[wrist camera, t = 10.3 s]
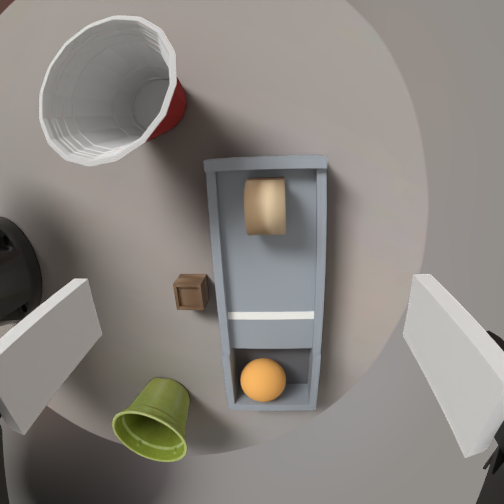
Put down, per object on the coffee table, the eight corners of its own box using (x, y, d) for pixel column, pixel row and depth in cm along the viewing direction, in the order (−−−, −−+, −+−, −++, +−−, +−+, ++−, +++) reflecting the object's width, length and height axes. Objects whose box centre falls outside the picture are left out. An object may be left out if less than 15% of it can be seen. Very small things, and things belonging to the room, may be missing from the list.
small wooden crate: (183, 298, 34) (177, 309, 32) (180, 274, 33) (173, 284, 31) (209, 298, 34) (203, 310, 32) (206, 274, 33) (200, 284, 31)
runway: (232, 387, 38) (228, 409, 34) (213, 158, 29) (203, 160, 25) (313, 387, 37) (315, 410, 33) (321, 154, 28) (327, 156, 25)
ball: (236, 353, 35) (244, 385, 37) (236, 380, 30) (245, 413, 32) (280, 346, 35) (285, 379, 37) (286, 373, 30) (290, 406, 32)
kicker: (251, 227, 29) (245, 242, 24) (248, 178, 27) (242, 183, 23) (285, 227, 28) (286, 241, 24) (284, 176, 27) (284, 182, 23)
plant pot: (126, 390, 40) (102, 432, 32) (153, 354, 37) (127, 400, 29) (180, 424, 41) (165, 469, 33) (215, 393, 38) (202, 444, 30)
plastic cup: (235, 76, 27) (207, 35, 15) (182, 175, 30) (126, 194, 19) (142, 39, 26) (79, 0, 14) (97, 132, 29) (19, 133, 18)
